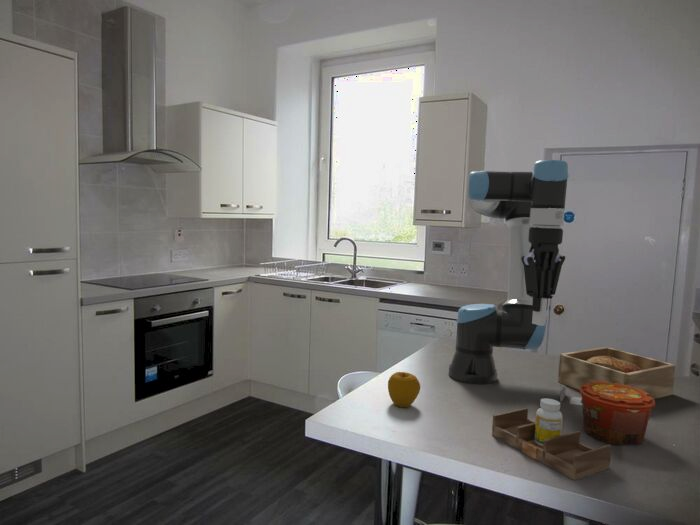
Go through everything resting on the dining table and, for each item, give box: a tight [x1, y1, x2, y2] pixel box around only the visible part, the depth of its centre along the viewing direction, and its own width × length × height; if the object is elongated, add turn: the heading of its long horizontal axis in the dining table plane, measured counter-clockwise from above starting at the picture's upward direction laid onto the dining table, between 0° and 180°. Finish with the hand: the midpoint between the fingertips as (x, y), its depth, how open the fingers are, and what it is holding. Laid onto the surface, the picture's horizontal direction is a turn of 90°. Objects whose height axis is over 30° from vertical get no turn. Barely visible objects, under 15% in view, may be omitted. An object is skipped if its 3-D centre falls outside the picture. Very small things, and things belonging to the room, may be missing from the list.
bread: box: [587, 356, 642, 373], centre depth 152 cm, size 20×18×10 cm
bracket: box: [559, 384, 582, 407], centre depth 139 cm, size 7×10×4 cm, turn 57°
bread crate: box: [557, 346, 676, 400], centre depth 152 cm, size 22×24×9 cm
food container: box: [578, 381, 656, 447], centre depth 118 cm, size 16×16×11 cm
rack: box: [491, 407, 612, 481], centre depth 108 cm, size 22×11×5 cm, turn 29°
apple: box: [387, 371, 421, 408], centre depth 132 cm, size 9×8×9 cm
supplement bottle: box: [534, 397, 563, 447], centre depth 108 cm, size 5×5×10 cm
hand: (538, 324), depth 119 cm, fingers closed
